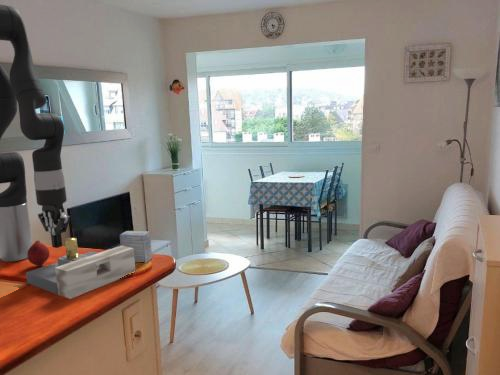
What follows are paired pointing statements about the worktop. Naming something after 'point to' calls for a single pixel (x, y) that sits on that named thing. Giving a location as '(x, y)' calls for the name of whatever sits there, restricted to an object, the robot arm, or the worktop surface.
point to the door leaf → (50, 274)
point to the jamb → (94, 271)
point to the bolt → (71, 250)
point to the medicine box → (138, 244)
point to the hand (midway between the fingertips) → (57, 246)
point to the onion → (38, 253)
